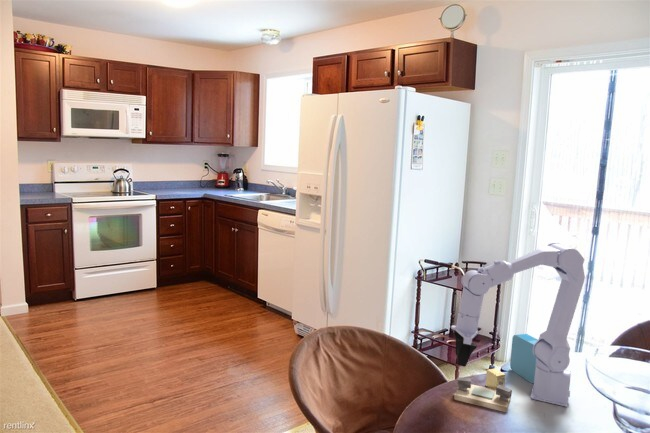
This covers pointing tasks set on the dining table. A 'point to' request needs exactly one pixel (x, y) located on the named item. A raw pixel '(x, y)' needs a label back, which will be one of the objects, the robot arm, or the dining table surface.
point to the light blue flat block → (523, 356)
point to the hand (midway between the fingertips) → (460, 360)
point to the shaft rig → (483, 395)
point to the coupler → (494, 378)
